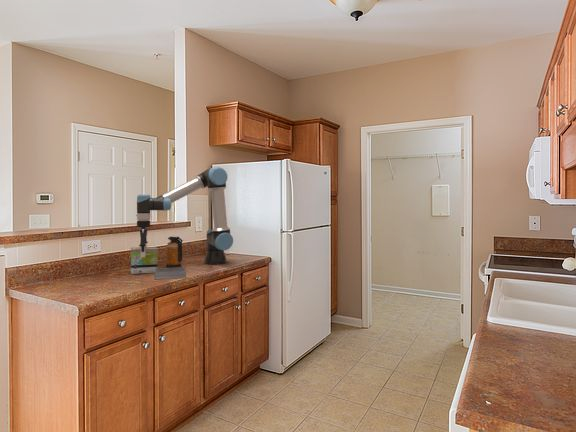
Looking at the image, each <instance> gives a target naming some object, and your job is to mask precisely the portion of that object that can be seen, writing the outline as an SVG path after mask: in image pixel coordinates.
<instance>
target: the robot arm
mask: <svg viewBox="0 0 576 432" xmlns="http://www.w3.org/2000/svg"><path fill="white" fill-rule="evenodd" d="M227 181H228V174H227V171H226V170H225V169H224V168H223V167H220V166H215V167H209V168H207V169H205V170H204V171H202V172H201V173H198V174H197V175H196V176H195V177H194V178H193V179H190V180H189V181H187V182H185V183H182V184H180V185H179V186H177V187H175V188H173V189H171V190H169V191H167V192H165V193H163V194H161V195H159V196H156V197H151V194H137V196H136V215H135V217H136V227H137V228H140V230H139V235H140V237H139V238H140V243H139V244H138V247H140V257H145V247H148V246H147V244H148V243H149V241H147V235H148V230H147V228H151V221H150V220H151V211H164V212H165V211H166V212H167V211H170V210H171V209H172V203H175V202H176V201H179V200H181V199H182V198H185V197H186V196H188V195H190V194H192V193H194V192H196V191H199V190H200V189H206V188H207V189H208V190H209V191H210V197H211V199H210V200H211V210H212V218H213V219H212V220H213V228H212V229H207V231H206V254H205V257H204V259H203V260H204V262H203V263H204V264H206V265H222V264H227V261H228V260H227V256H226V253H225V251H227V250H229V249H230V248H232V247H233V244H234V238H233V236H232V234H231V228H230V227H228V219H227V210H226V197H225V189H226V188H227Z"/></svg>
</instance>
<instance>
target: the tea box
mask: <svg viewBox="0 0 576 432" xmlns="http://www.w3.org/2000/svg"><path fill="white" fill-rule="evenodd" d="M158 258H159V249H158V247H157V246H147V247H145V257H140V246H138V247H130V275H133V274H134V275H135V274H155V273H156V268H159V259H158Z"/></svg>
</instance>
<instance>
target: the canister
mask: <svg viewBox="0 0 576 432" xmlns="http://www.w3.org/2000/svg"><path fill="white" fill-rule="evenodd" d="M167 240H169V242H167V244H166V248H165V249H166V251H165V254H166V256H165V257H166V268H174V267H182V261H183V241H184V240H183V239H182V238H180V237H179V236H169V237H168V238H167Z"/></svg>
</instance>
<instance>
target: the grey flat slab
mask: <svg viewBox="0 0 576 432" xmlns="http://www.w3.org/2000/svg"><path fill="white" fill-rule="evenodd" d="M184 278H185V279H187V271H186V268H185V266H180V267H174V268H169V267H158V268H156V273H154V280H166V279H168V280H169V279H170V280H171V279H184Z"/></svg>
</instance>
